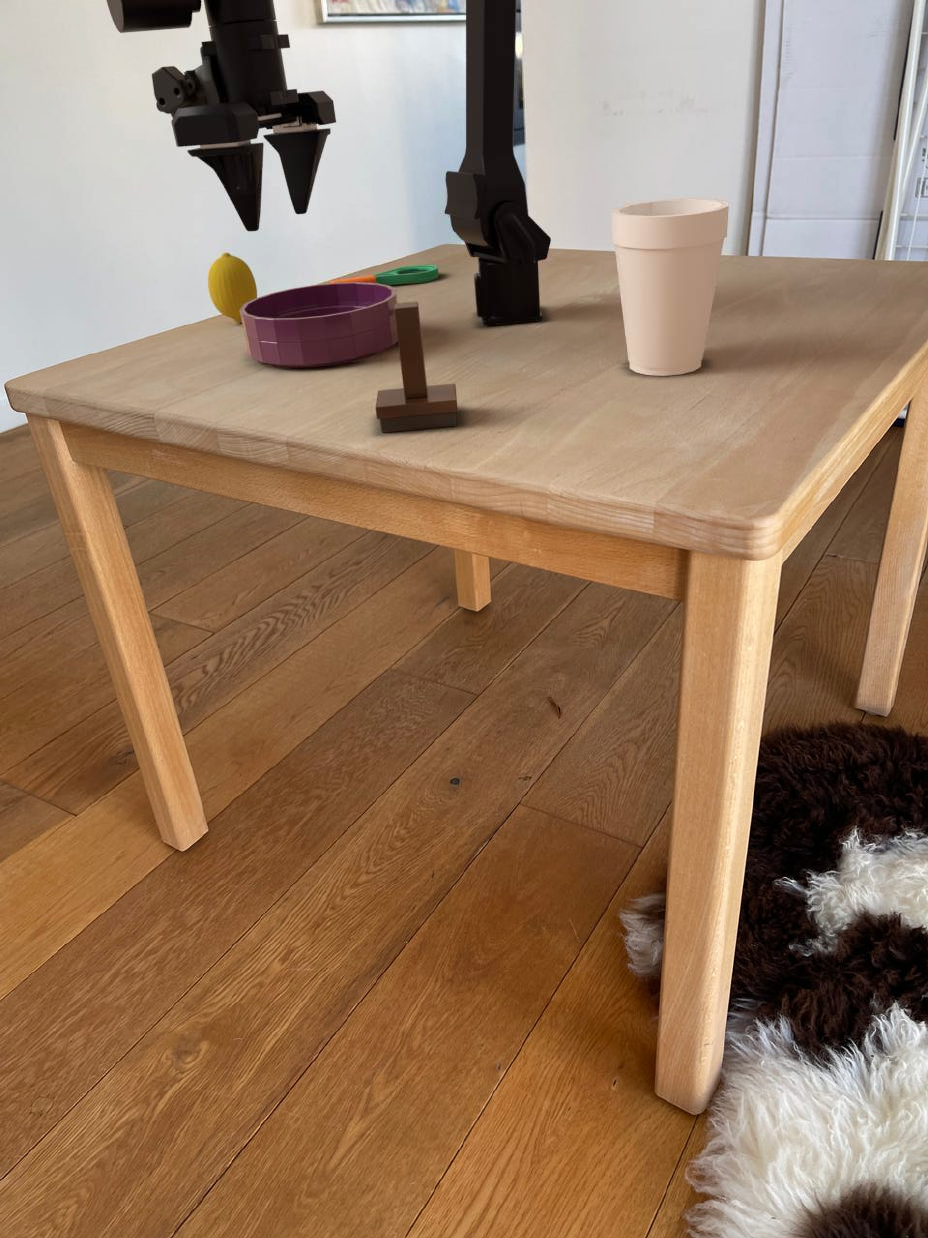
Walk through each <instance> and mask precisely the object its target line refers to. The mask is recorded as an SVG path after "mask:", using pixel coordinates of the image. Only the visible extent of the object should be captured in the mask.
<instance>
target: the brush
mask: <svg viewBox="0 0 928 1238" xmlns="http://www.w3.org/2000/svg"><path fill="white" fill-rule="evenodd" d="M394 312H395V320H396V328H397V337H398V341H397V344H398V353H399V361H400V370H401V377H402V379H401V380H402V385H403V387H402V388H391V389H390V388H389V389H381V390H380V389H379V390H377V394H376V402H375V414H376V420H379V423H380V430H381V434H382V433H393V432H404V431H417V430H426V429H427V430H428V429H439V428H449V427H456V426H457V413H458V412H459V407H458V406H459V405H458V396H457V386H456V385H457V384H456V383H444V384H434V385H428V384H427V383H428V382H427V373H426V363H425V354H424V345H423V344H424V343H423V335H422V325H421V318H420V317H421V316H420V307H419V301H409V302H398V303H397V304H395V308H394Z"/></svg>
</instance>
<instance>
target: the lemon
mask: <svg viewBox="0 0 928 1238" xmlns="http://www.w3.org/2000/svg"><path fill="white" fill-rule="evenodd" d="M207 276H208V277H207V286H208V287H207V289H208V293H209V296H210V299H211V301H212V304H213V305H214V307H215V309H216V310H217V311H218V312H219V313H220V314H222V315H223V316H225V317H227V318H230V319H232V320H233V321H235V322H236V323H238V324H240V323H242V320H241V315H240V309H241V307H242V306H243V305H244V304H245V303H247V302H249V301H251V300H253V299H255V298H258V288H257V283H256V279H255V276H254V273H253V272H252V270H251V268H250V266H249V265H248V264H247V262H245V261H244V260H243V259H242V258H239V256H238V257H237V256H234V255H232V254H230V252H223V253H222V254H221V256H219V257H218V258H217V259H215V261H213V262H212V264H211V266H210V267H209V270H208V274H207Z"/></svg>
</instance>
